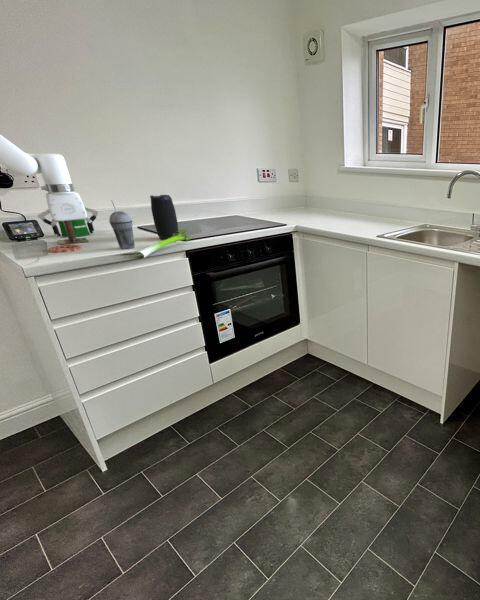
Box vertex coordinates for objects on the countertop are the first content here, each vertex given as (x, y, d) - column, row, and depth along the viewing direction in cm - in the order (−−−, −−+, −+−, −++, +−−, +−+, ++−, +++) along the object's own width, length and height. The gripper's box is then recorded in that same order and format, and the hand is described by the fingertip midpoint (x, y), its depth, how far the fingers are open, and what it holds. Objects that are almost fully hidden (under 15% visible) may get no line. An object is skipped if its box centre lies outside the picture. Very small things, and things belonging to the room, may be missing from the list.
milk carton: (77, 233, 169) (64, 190, 161) (93, 234, 167) (81, 190, 160) (58, 236, 161) (43, 191, 153) (75, 237, 159) (61, 192, 152)
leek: (132, 261, 133) (179, 239, 160) (150, 264, 134) (194, 242, 161) (129, 246, 131) (177, 226, 158) (148, 249, 131) (193, 229, 158)
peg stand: (61, 247, 143) (49, 211, 138) (58, 243, 149) (47, 208, 143) (89, 244, 149) (79, 209, 144) (86, 240, 155) (76, 207, 149)
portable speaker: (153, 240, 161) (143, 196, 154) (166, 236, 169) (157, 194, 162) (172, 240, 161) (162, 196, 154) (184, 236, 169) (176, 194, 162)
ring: (49, 256, 130) (47, 251, 129) (47, 251, 136) (45, 246, 136) (84, 252, 137) (82, 247, 136) (80, 247, 143) (79, 243, 142)
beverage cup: (142, 250, 143) (130, 199, 136) (122, 253, 137) (108, 201, 130) (133, 247, 147) (121, 198, 139) (113, 250, 141) (99, 199, 133)
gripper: (28, 190, 123) (46, 239, 129) (92, 188, 134) (105, 233, 141) (27, 189, 127) (44, 236, 134) (88, 187, 139) (101, 230, 145)
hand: (75, 234), depth 137 cm, fingers open, 9 cm apart
